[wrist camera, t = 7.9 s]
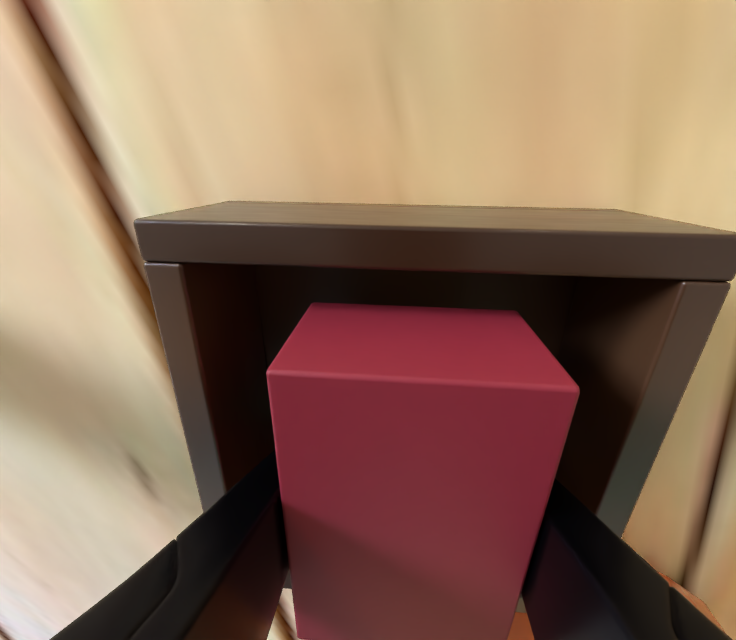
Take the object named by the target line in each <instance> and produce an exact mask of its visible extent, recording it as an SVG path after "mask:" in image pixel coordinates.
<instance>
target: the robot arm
mask: <svg viewBox="0 0 736 640" xmlns="http://www.w3.org/2000/svg"><path fill="white" fill-rule="evenodd" d="M288 570H289V561H288V552H287V544H286V536H285V527H284V519H283V510H282V502H281V493H280V485H279V477H278V468H277V460H276V451H275V450H274V451H273V452H271V453H270V454H269V455H268V456H267V457H266V458H265V459H264V460H262V461H261V462H260V463H259V464H258V465H257V466H256V467H255V468H253V469H252V470H251V471H250V472H249V473H248V474H247V475H246V476H244V477H243V478H242V479H241V480H240V481H239V482H238V483H237V484H235V485H234V486H233V487H232V488H231V489H230V490H229V491H228V492H226V493H225V494H224V495H223V496H222V497H221V498H220V499H218V500H217V501H216V502H215V503H214V504H213V505H212V506H211V507H209V508H208V509H207V510H206V511H205V512H204V513H203V514H202V515H200V516H199V517H198V518H197V519H196V520H195V521H194V522H193V523H191V524H190V525H189V526H188V527H187V528H186V529H185V530H184V531H182V532H181V533H180V534H179V535H178V536H177V538H176V540H175V539H174V540H172V541H171V542H170V543H169V544H168V545H166V546H165V547H164V548H163V549H162V550H161V551H160V552H159V553H157V554H156V555H155V556H154V557H153V558H152V559H150V560H149V561H148V562H147V563H146V564H145V565H143V566H142V567H141V568H140V569H139V570H137V571H136V572H135V573H134V574H133V575H132V576H130V577H129V578H128V579H127V580H126V581H124V582H123V583H122V584H121V585H119V586H118V587H117V588H116V589H114V590H113V591H112V592H110V593H109V594H108V595H107V596H105V597H104V598H103V599H102V600H100V601H99V602H98V603H97V604H95V605H94V606H93V607H91V608H90V609H89V610H88V611H86V612H85V613H84V614H82V615H81V616H80V617H78V618H77V619H76V620H75V621H73V622H72V623H71V624H69V625H68V626H67V627H65V628H64V629H63V630H61V631H60V632H59V633H58V634H56V635H55V636H54V637H52V638H51V639H50V640H267V637H268V634H269V630H270V627H271V624H272V621H273V618H274V615H275V611H276V608H277V605H278V602H279V599H280V596H281V592H282V589H283V586H284V583H285V580H286V577H287V573H288ZM521 595H522V598H523V602H524V605H525V609H526V612H527V616H528V619H529V622H530V626H531V629H532V633H533V636H534V640H732V639H731V638H730V637H729V636H728V635H727V634H725V633H724V632H723V631H722V630H721V629H720V628H719V627H718V626H716V625H715V624H714V623H713V622H712V621H711V620H710V619H709V618H707V617H706V616H705V615H704V614H703V613H702V612H701V611H700V610H698V609H697V608H696V607H695V606H694V605H693V604H692V603H691V602H690V601H689V600H688V599H686V598H685V597H684V596H683V595H682V594H681V593H680V592H679V591H678V590H677V589H676V588H674V587H672V586H669V583H668V581H667V580H666V579H664V578H663V577H662V576H661V575H660V574H659V573H658V572H657V571H656V570H655V569H654V568H652V567H651V566H650V565H649V564H648V563H647V562H646V561H645V560H644V559H643V558H642V557H640V556H639V555H638V554H637V553H636V552H635V551H634V550H633V549H632V548H631V547H630V546H628V545H627V544H626V543H625V542H624V541H623V540H622V539H621V538H620V537H619V536H618V535H617V534H615V533H614V532H613V531H612V530H611V529H610V528H609V527H608V526H607V525H606V524H605V523H603V522H602V521H601V520H600V519H599V518H598V517H597V516H596V515H595V514H594V513H593V512H591V511H590V510H589V509H588V508H587V507H586V506H585V505H584V504H583V503H582V502H581V501H579V500H578V499H577V498H576V497H575V496H574V495H573V494H572V493H571V492H570V491H569V490H567V489H566V488H565V487H564V486H563V485H562V484H561V483H560V482H559V481H558V480H557V479H556V478H555V479H554V482H553V486H552V489H551V492H550V496H549V499H548V503H547V506H546V510H545V513H544V516H543V520H542V523H541V527H540V530H539V533H538V537H537V540H536V544H535V547H534V550H533V554H532V557H531V561H530V564H529V568H528V571H527V574H526V578H525V581H524V585H523V588H522V591H521Z"/></svg>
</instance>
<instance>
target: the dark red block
mask: <svg viewBox="0 0 736 640" xmlns="http://www.w3.org/2000/svg"><path fill="white" fill-rule="evenodd" d="M266 375H267V384H268V392H269V401H270V409H271V417H272V426H273V434H274V443H275V451H276V460H277V468H278V477H279V485H280V493H281V502H282V510H283V519H284V527H285V536H286V544H287V552H288V561H289V569H290V578H291V586H292V595H293V603H294V611H295V620H296V628H297V637H298V638H299V639H305V640H507V639H508V636H509V632H510V629H511V625H512V622H513V619H514V615H515V612H516V608H517V605H518V602H519V598H520V595H521V591H522V588H523V585H524V581H525V578H526V574H527V571H528V568H529V564H530V561H531V557H532V554H533V550H534V547H535V544H536V540H537V537H538V533H539V530H540V527H541V523H542V520H543V516H544V513H545V510H546V506H547V503H548V499H549V496H550V492H551V489H552V486H553V482H554V479H555V475H556V472H557V469H558V465H559V462H560V458H561V455H562V452H563V448H564V445H565V441H566V438H567V435H568V431H569V428H570V424H571V421H572V417H573V414H574V411H575V407H576V404H577V400H578V397H579V394H580V390H579V386H578V385H577V384H576V383H575V381H574V380H573V379H572V378H571V376H570V375H569V374H568V373H567V372H566V370H565V369H564V368H563V367H562V365H561V364H560V363H559V362H558V361H557V359H556V358H555V357H554V356H553V354H552V353H551V352H550V351H549V350H548V348H547V347H546V346H545V345H544V343H543V342H542V341H541V340H540V339H539V337H538V336H537V335H536V334H535V332H534V331H533V330H532V329H531V328H530V326H529V325H528V324H527V323H526V321H525V320H524V319H523V318H522V316H521V315H520V314H519V313H518V312H517V311H515V310H491V309H466V308H441V307H417V306H392V305H367V304H343V303H318V302H314V303H311V305H310V306H309V308H308V309H307V311H306V312H305V314H304V315H303V317H302V318H301V320H300V321H299V323H298V324H297V326H296V327H295V329H294V330H293V332H292V333H291V335H290V336H289V338H288V339H287V341H286V342H285V344H284V345H283V347H282V348H281V350H280V351H279V353H278V354H277V356H276V357H275V359H274V360H273V362H272V363H271V365H270V366H269V368H268V369H267V372H266Z"/></svg>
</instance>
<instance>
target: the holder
mask: <svg viewBox="0 0 736 640" xmlns="http://www.w3.org/2000/svg"><path fill="white" fill-rule="evenodd" d="M134 227H135V231H136V236H137V240H138V244H139V248H140V252H141V256H142V259H143V260H145V261H147V262H145V263H144V269H145V273H146V277H147V281H148V285H149V289H150V294H151V298H152V302H153V306H154V310H155V314H156V318H157V323H158V327H159V331H160V335H161V339H162V343H163V347H164V351H165V356H166V360H167V364H168V368H169V372H170V376H171V380H172V385H173V389H174V393H175V397H176V401H177V405H178V409H179V413H180V418H181V422H182V426H183V430H184V434H185V438H186V442H187V447H188V451H189V455H190V459H191V463H192V467H193V471H194V475H195V480H196V484H197V488H198V492H199V496H200V500H201V504H202V509H203V513H204V512H205V511H206V510H207V509H208V508H209V507H211V506H212V505H213V504H214V503H215V502H216V501H217V500H218V499H220V498H221V497H222V496H223V495H224V494H225V493H226V492H228V491H229V490H230V489H231V488H232V487H233V486H234V485H235V484H237V483H238V482H239V481H240V480H241V479H242V478H243V477H244V476H246V475H247V474H248V473H249V472H250V471H251V470H252V469H253V468H255V467H256V466H257V465H258V464H259V463H260V462H261V461H262V460H264V459H265V458H266V457H267V456H268V455H269V454H270V453H271V452H273V451H274V450H275V443H274V434H273V426H272V417H271V409H270V401H269V392H268V384H267V375H266V372H267V369H268V368H269V366H270V365H271V363H272V362H273V360H274V359H275V357H276V356H277V354H278V353H279V351H280V350H281V348H282V347H283V345H284V344H285V342H286V341H287V339H288V338H289V336H290V335H291V333H292V332H293V330H294V329H295V327H296V326H297V324H298V323H299V321H300V320H301V318H302V317H303V315H304V314H305V312H306V311H307V309H308V308H309V306H310V305H311V303H314V302H318V303H343V304H367V305H392V306H417V307H441V308H466V309H491V310H515V311H517V312H518V313H519V314H520V315H521V316H522V318H523V319H524V320H525V321H526V323H527V324H528V325H529V326H530V328H531V329H532V330H533V331H534V332H535V334H536V335H537V336H538V337H539V339H540V340H541V341H542V342H543V343H544V345H545V346H546V347H547V348H548V350H549V351H550V352H551V353H552V354H553V356H554V357H555V358H556V359H557V361H558V362H559V363H560V364H561V365H562V367H563V368H564V369H565V370H566V372H567V373H568V374H569V375H570V376H571V378H572V379H573V380H574V381H575V383H576V384H577V385H578V386H579V390H580V394H579V397H578V400H577V404H576V407H575V411H574V414H573V417H572V421H571V424H570V428H569V431H568V435H567V438H566V441H565V445H564V448H563V452H562V455H561V458H560V462H559V465H558V469H557V472H556V475H555V478H556V479H557V480H558V481H559V482H560V483H561V484H562V485H563V486H564V487H565V488H566V489H567V490H569V491H570V492H571V493H572V494H573V495H574V496H575V497H576V498H577V499H578V500H579V501H581V502H582V503H583V504H584V505H585V506H586V507H587V508H588V509H589V510H590V511H591V512H593V513H594V514H595V515H596V516H597V517H598V518H599V519H600V520H601V521H602V522H603V523H605V524H606V525H607V526H608V527H609V528H610V529H611V530H612V531H613V532H614V533H615V534H617V535H618V536H619V537H620V538H621V537H622V535H623V532H624V530H625V528H626V525H627V523H628V521H629V518H630V516H631V514H632V512H633V509H634V507H635V505H636V502H637V500H638V498H639V496H640V493H641V491H642V489H643V486H644V484H645V482H646V479H647V477H648V475H649V473H650V470H651V468H652V466H653V463H654V461H655V459H656V457H657V454H658V452H659V450H660V447H661V445H662V443H663V440H664V438H665V436H666V434H667V431H668V429H669V427H670V424H671V422H672V420H673V417H674V415H675V413H676V411H677V408H678V406H679V404H680V401H681V399H682V397H683V395H684V392H685V390H686V388H687V385H688V383H689V381H690V378H691V376H692V374H693V372H694V369H695V367H696V365H697V362H698V360H699V358H700V356H701V353H702V351H703V349H704V346H705V344H706V342H707V339H708V337H709V335H710V333H711V330H712V328H713V326H714V323H715V321H716V319H717V317H718V314H719V312H720V310H721V307H722V305H723V303H724V300H725V298H726V296H727V294H728V291H729V289H730V283H728V282H726V281H731V280H732V279H733V278H734V276H735V274H736V232H731V231H726V230H720V229H715V228H710V227H705V226H700V225H694V224H689V223H684V222H679V221H673V220H668V219H663V218H658V217H652V216H647V215H642V214H637V213H631V212H626V211H622V210H617V209H579V208H532V207H485V206H439V205H392V204H345V203H299V202H252V201H227V202H222V203H217V204H212V205H207V206H201V207H196V208H191V209H186V210H180V211H175V212H170V213H165V214H159V215H154V216H149V217H144V218H138V219H136V220H134ZM283 588H288V589H292V586H291V578H290V569H289V570H288V573H287V577H286V580H285V583H284V586H283ZM516 612H521V613H527V612H526V609H525V605H524V602H523V598H522V595H520V598H519V602H518V605H517V608H516Z"/></svg>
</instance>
